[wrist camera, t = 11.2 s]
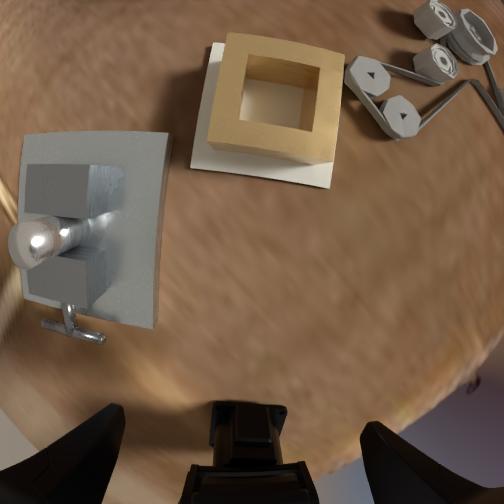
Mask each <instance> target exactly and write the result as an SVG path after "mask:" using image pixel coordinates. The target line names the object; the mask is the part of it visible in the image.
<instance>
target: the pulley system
mask: <svg viewBox="0 0 504 504" xmlns="http://www.w3.org/2000/svg"><path fill="white" fill-rule="evenodd" d="M414 23H415V25H416V26H417V27H418V28H419V29H420V30H421V31H422V32H423V34H424V35H425V36H426V37H427V38H430V39H435V40H437V39H439V38H440V44H438V43H436V44H433V45H432V46H430V47H428V48H426V49H425V50H423V51H421V52H419V53H417V54H416V55H415V57H414V58H413V63H414V68H415V72H416V73H417V74H416V73H413V72H410V71H407V70H404V69H401V68H398V67H395V66H392V65H389V64H385V63H382V62H379V61H378V60H375V59H371V58H367V57H363V56H356V57H355V58H354V60H353V61H352V62H351V63H350V64H349V65H348V66H347V68H346V70H345V79H344V83H345V84H346V85H347V86H348V87H349V88H350V89H351V90H352V91H353V92H354V94H355V95H356V96H357V97H358V98H359V100H360V101H361V102H362V103H363V105H364V106H365V107H366V108H367V110H368V111H369V112H370V113H371V115H372V116H373V117H374V119H375V120H376V121H377V122H378V124H379V125H380V127H381V128H382V130H383V131H384V132H385V133H386V134H387V135H389V136H390V137H392V138H394V139H395V140H397V141H398V140H402V139H406V138H409V137H412V136H415V135H416V134H417V132H418V131H419V130H420V129H421V128H422V127H423V126H424V125H425V124H426V123H428V122H429V121H430V120H431V119H432V118H433V117H434V116H435V115H436V114H437V113H438V112H439V111H440V110H441V109H442V108H443V107H444V106H445V105H446V104H447V103H448V102H449V101H450V100H451V99H452V98H453V97H454V96H455V95H457V94H458V93H459V92H460V91H461V90H462V89H463V88H464V87H465V86H466V85H467V84H468V83H469V82H471V83H472V84H474V85H475V86H476V88H477V89H478V90H479V92H480V93H481V95H482V96H483V98H484V99H485V100H486V102H487V103H488V105H489V107H490V108H491V110H492V111H493V113H494V114H495V116H496V117H497V119H498V121H499V122H500V124H501V126H502V127H503V129H504V117H503V116H504V89H501V90H499V88H498V85H497V82H496V80H495V77H494V74H493V72H492V69H491V67H490V64H489V62H488V60H489V59H490V55H495V53H496V51H497V50H498V48H497V45H496V41H495V38H494V37H493V35H492V33H491V31H490V30H489V28H488V26H487V25H486V23H485V22H484V20H483V19H481V18H480V17H479V16H477V15H476V14H475V13H473V12H472V11H471V10H469V9H462V10H461V11H459V12H456V11H454V10H452V11H451V10H450V9H449V8H448V7H447V6H445V5H444V4H442V3H441V2H439V1H437V0H428V1H427V2H426V3H424V4H423V5H422V6H421V7H419V8H418V9H417V10H415V11H414ZM446 42H447V44H448V46H449V48H451V49H452V50H453V51H454V52H455V53H456V54H457V55H458V56H459V57H460V58H461V59H462V60H463V61H465V62H467V63H469V64H471V65H473V66H474V64H476V65H482V64H483V63H485V66H486V68H487V71H488V74H489V77H490V80H491V83H492V86H493V89H494V92H495V96H496V99H497V103H498V106H499V108H500V110H501V112H502V114H503V116H502V114H501V112H500V111H499V109H498V108H497V106H496V105H495V103H494V102H493V100H492V99H491V97H490V96H489V94H488V93H487V91H486V90H485V89H484V87H483V86H482V84H481V83H480V82H479V80H476V79H469V80H466V81H465V82H464V83H463V84H462V85H461V86H460V87H459V88H458V89H456V90H455V91H454V92H453V93H452V94H451V95H450V96H449V97H448V98H447V99H445V100H444V101H443V102H442V103H441V104H440V105H439V106H438V107H437V108H435V109H434V110H433V111H432V112H431V113H430V114H429V115H428V116H427V117H425V118H424V119H423V120H422V121H421V118H420V116H419V114H418V113H417V111H416V109H415V108H414V106H413V105H412V104H411V103H410V102H409V101H407V100H406V99H405V98H403V97H402V96H401V95H399V96H396V97H393V98H390V99H388V100H387V101H383V103H382V105H381V106H380V108H379V110H378V108H377V107H376V106H375V104H374V103H373V102H372V101H371V99H373V98H375V97H377V96H379V95H381V94H382V93H383V92H385V91H386V90H388V89H389V84H390V78H391V76H390V75H389V74H388V72H387V71H386V70H389V71H392V72H395V73H398V74H401V75H404V76H407V77H410V78H413V79H415V80H418V81H421V82H423V83H426V84H428V85H431V86H433V87H435V86H440V85H442V84H443V83H444V82H445V81H448V80H451V79H454V78H455V76H456V74H457V73H458V71H459V68H458V63H457V60H456V59H455V57H454V56H453V55H452V53H451V52H450V51H449V49H447V48H446ZM385 69H386V70H385ZM420 121H421V122H420Z"/></svg>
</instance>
